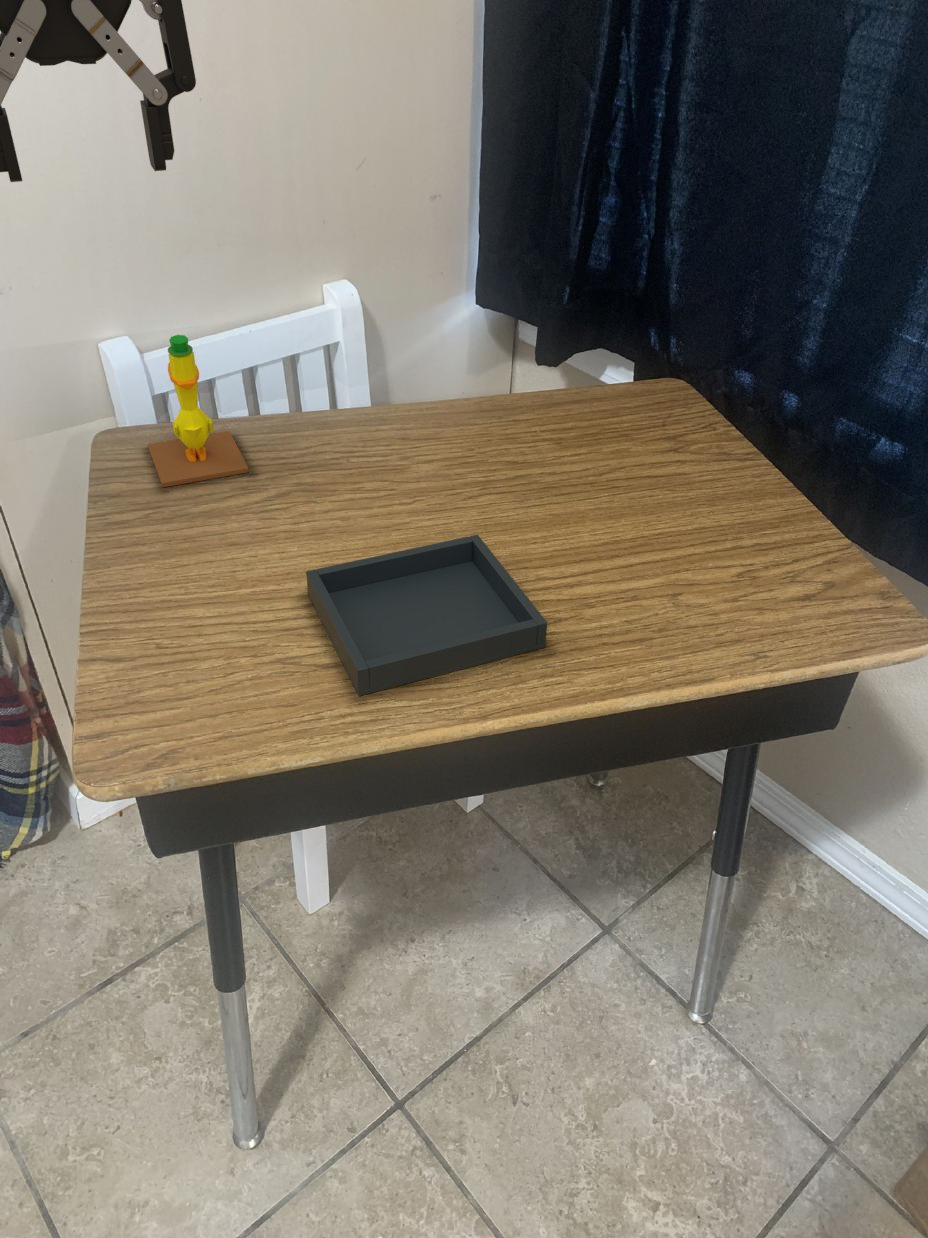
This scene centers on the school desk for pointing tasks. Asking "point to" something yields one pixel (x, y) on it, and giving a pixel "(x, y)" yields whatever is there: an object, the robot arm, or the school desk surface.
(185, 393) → the toy figure
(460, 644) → the tray
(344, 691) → the school desk surface
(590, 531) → the school desk surface
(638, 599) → the school desk surface
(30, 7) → the robot arm
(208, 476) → the coaster
